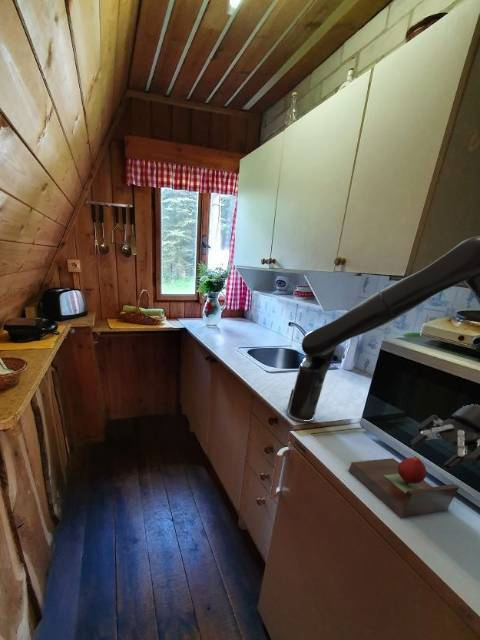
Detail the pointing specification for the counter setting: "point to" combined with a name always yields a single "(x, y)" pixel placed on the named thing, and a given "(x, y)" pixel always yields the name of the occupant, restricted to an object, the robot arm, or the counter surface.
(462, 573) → the counter surface
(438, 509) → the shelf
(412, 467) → the red pomegranate
